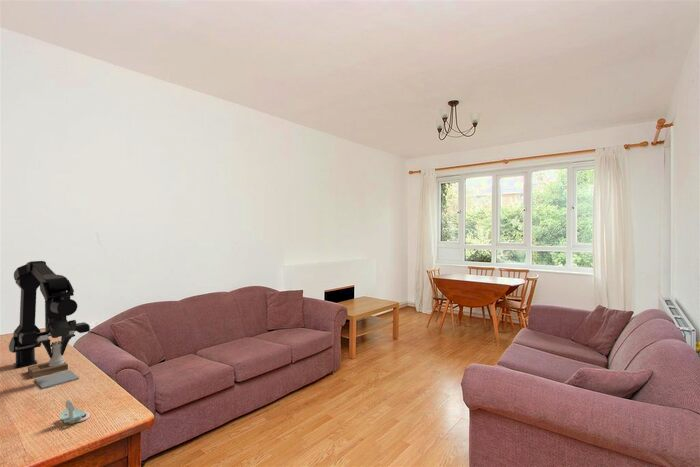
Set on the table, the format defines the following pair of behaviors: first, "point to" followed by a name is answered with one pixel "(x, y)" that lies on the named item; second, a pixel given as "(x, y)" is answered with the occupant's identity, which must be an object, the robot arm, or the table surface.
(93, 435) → the table surface
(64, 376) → the slate mat
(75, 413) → the pacifier
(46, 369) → the socket block
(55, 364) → the rook chess piece
